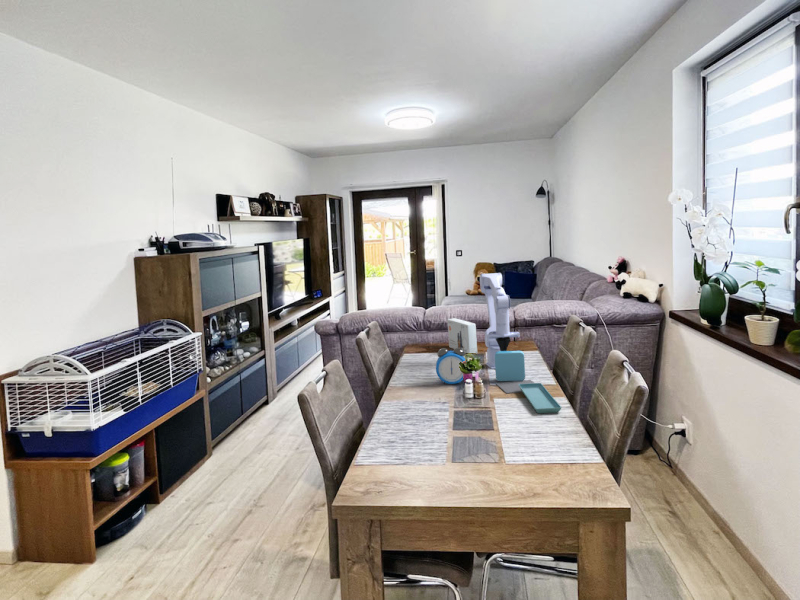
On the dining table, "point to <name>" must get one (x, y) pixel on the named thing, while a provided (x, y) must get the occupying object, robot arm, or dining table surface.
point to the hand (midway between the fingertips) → (503, 354)
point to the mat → (512, 386)
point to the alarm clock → (450, 365)
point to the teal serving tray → (540, 398)
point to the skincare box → (462, 335)
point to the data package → (509, 366)
